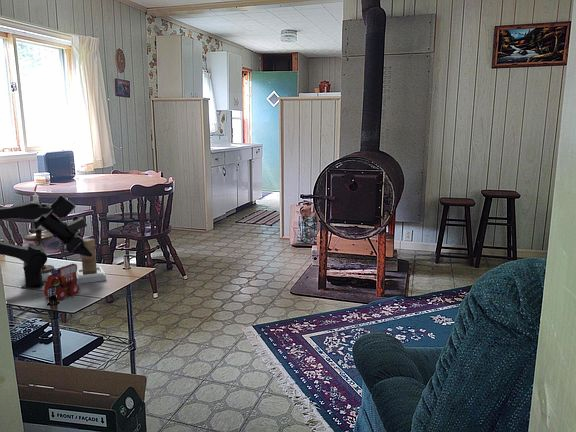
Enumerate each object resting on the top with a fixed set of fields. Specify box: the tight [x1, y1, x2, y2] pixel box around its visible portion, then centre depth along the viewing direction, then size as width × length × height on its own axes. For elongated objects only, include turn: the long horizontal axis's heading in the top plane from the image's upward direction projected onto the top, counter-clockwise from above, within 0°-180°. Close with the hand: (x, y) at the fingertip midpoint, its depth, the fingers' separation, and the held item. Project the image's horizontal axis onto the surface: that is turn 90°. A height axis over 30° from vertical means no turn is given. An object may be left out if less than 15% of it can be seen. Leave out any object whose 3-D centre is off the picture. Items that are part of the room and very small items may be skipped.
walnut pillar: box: [81, 238, 98, 275], centre depth 178 cm, size 5×5×13 cm
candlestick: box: [22, 183, 55, 274], centre depth 185 cm, size 11×11×35 cm
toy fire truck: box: [43, 263, 81, 301], centre depth 160 cm, size 7×12×10 cm, turn 153°
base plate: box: [76, 266, 107, 285], centre depth 180 cm, size 10×10×3 cm
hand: (90, 252), depth 178 cm, fingers open, 9 cm apart
